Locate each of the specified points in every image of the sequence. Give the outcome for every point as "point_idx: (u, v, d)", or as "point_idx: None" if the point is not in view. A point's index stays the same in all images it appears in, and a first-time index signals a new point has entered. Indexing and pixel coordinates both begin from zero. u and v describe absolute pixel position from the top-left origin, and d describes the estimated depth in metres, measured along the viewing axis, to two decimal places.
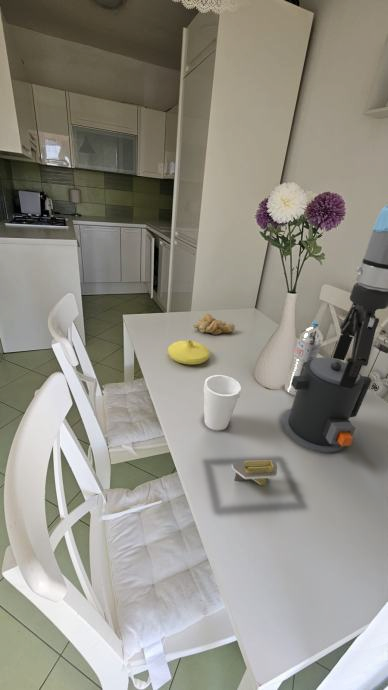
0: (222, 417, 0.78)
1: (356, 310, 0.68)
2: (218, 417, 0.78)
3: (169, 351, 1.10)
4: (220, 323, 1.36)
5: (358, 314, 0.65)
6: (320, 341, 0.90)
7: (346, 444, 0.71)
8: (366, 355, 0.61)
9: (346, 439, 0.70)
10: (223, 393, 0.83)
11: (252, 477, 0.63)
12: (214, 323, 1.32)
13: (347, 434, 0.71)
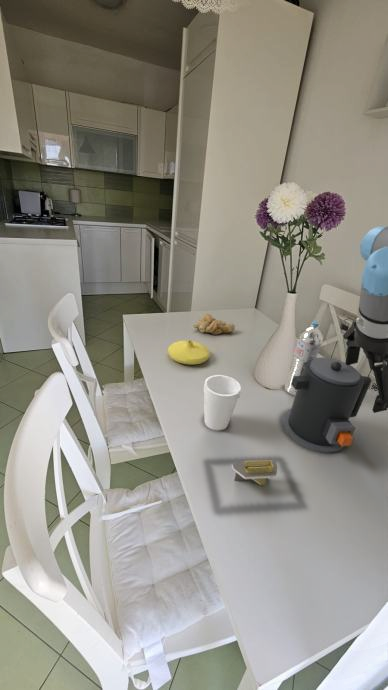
0: (222, 417, 0.78)
1: None
2: (218, 417, 0.78)
3: (169, 351, 1.10)
4: (220, 323, 1.36)
5: (370, 353, 0.61)
6: (320, 341, 0.90)
7: (346, 444, 0.71)
8: None
9: (346, 439, 0.70)
10: (223, 393, 0.83)
11: (252, 477, 0.63)
12: (214, 323, 1.32)
13: (347, 434, 0.71)
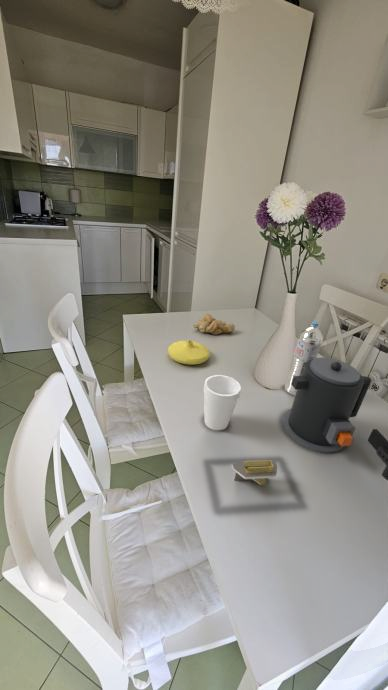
0: (222, 417, 0.78)
1: None
2: (218, 417, 0.78)
3: (169, 351, 1.10)
4: (220, 323, 1.36)
5: None
6: (320, 341, 0.90)
7: (346, 444, 0.71)
8: None
9: (346, 439, 0.70)
10: (223, 393, 0.83)
11: (252, 477, 0.63)
12: (214, 323, 1.32)
13: (347, 434, 0.71)
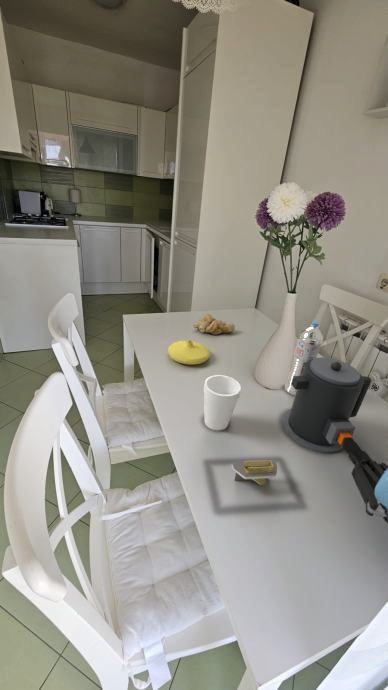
0: (222, 417, 0.78)
1: None
2: (218, 417, 0.78)
3: (169, 351, 1.10)
4: (220, 323, 1.36)
5: None
6: (320, 341, 0.90)
7: None
8: None
9: (345, 438, 0.71)
10: (223, 393, 0.83)
11: (252, 477, 0.63)
12: (214, 323, 1.32)
13: (346, 433, 0.72)
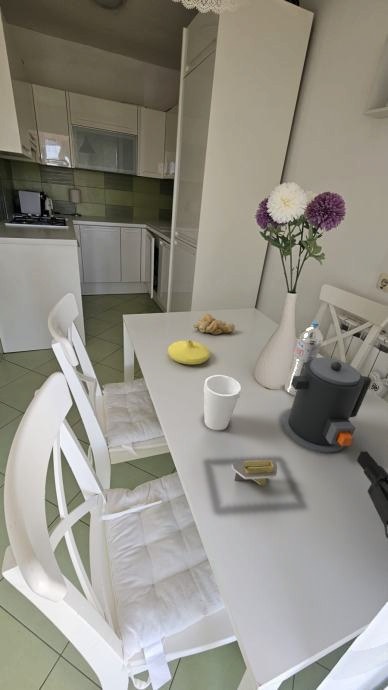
0: (222, 417, 0.78)
1: None
2: (218, 417, 0.78)
3: (169, 351, 1.10)
4: (220, 323, 1.36)
5: None
6: (320, 341, 0.90)
7: (346, 444, 0.71)
8: None
9: (346, 439, 0.70)
10: (223, 393, 0.83)
11: (252, 477, 0.63)
12: (214, 323, 1.32)
13: (347, 434, 0.71)
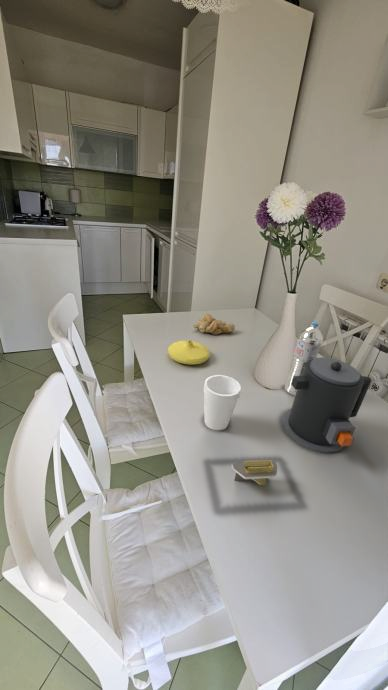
0: (222, 417, 0.78)
1: None
2: (218, 417, 0.78)
3: (169, 351, 1.10)
4: (220, 323, 1.36)
5: None
6: (320, 341, 0.90)
7: (346, 444, 0.71)
8: None
9: (346, 439, 0.70)
10: (223, 393, 0.83)
11: (252, 477, 0.63)
12: (214, 323, 1.32)
13: (347, 434, 0.71)
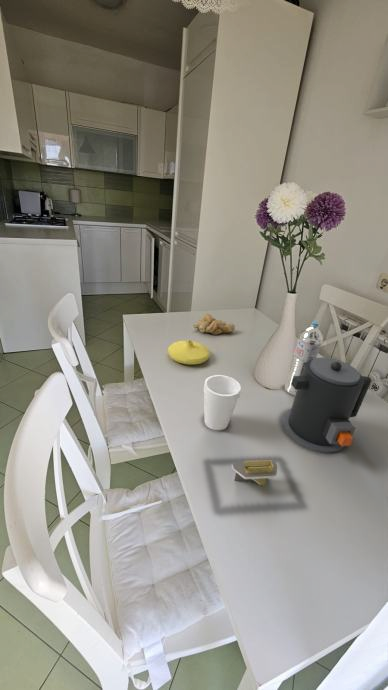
0: (222, 417, 0.78)
1: None
2: (218, 417, 0.78)
3: (169, 351, 1.10)
4: (220, 323, 1.36)
5: None
6: (320, 341, 0.90)
7: (346, 444, 0.71)
8: None
9: (346, 439, 0.70)
10: (223, 393, 0.83)
11: (252, 477, 0.63)
12: (214, 323, 1.32)
13: (347, 434, 0.71)
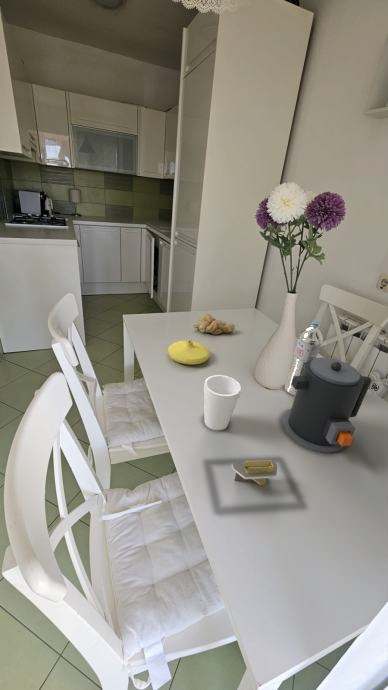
0: (222, 417, 0.78)
1: None
2: (218, 417, 0.78)
3: (169, 351, 1.10)
4: (220, 323, 1.36)
5: None
6: (320, 341, 0.90)
7: (346, 444, 0.71)
8: None
9: (346, 439, 0.70)
10: (223, 393, 0.83)
11: (252, 477, 0.63)
12: (214, 323, 1.32)
13: (347, 434, 0.71)
